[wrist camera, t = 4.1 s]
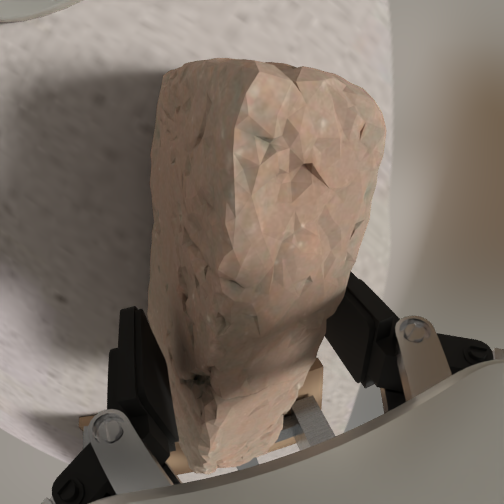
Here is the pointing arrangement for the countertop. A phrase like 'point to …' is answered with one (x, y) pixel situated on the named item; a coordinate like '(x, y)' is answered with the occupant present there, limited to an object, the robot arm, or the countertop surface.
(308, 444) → the free jaw
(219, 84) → the brick
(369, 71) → the countertop surface
